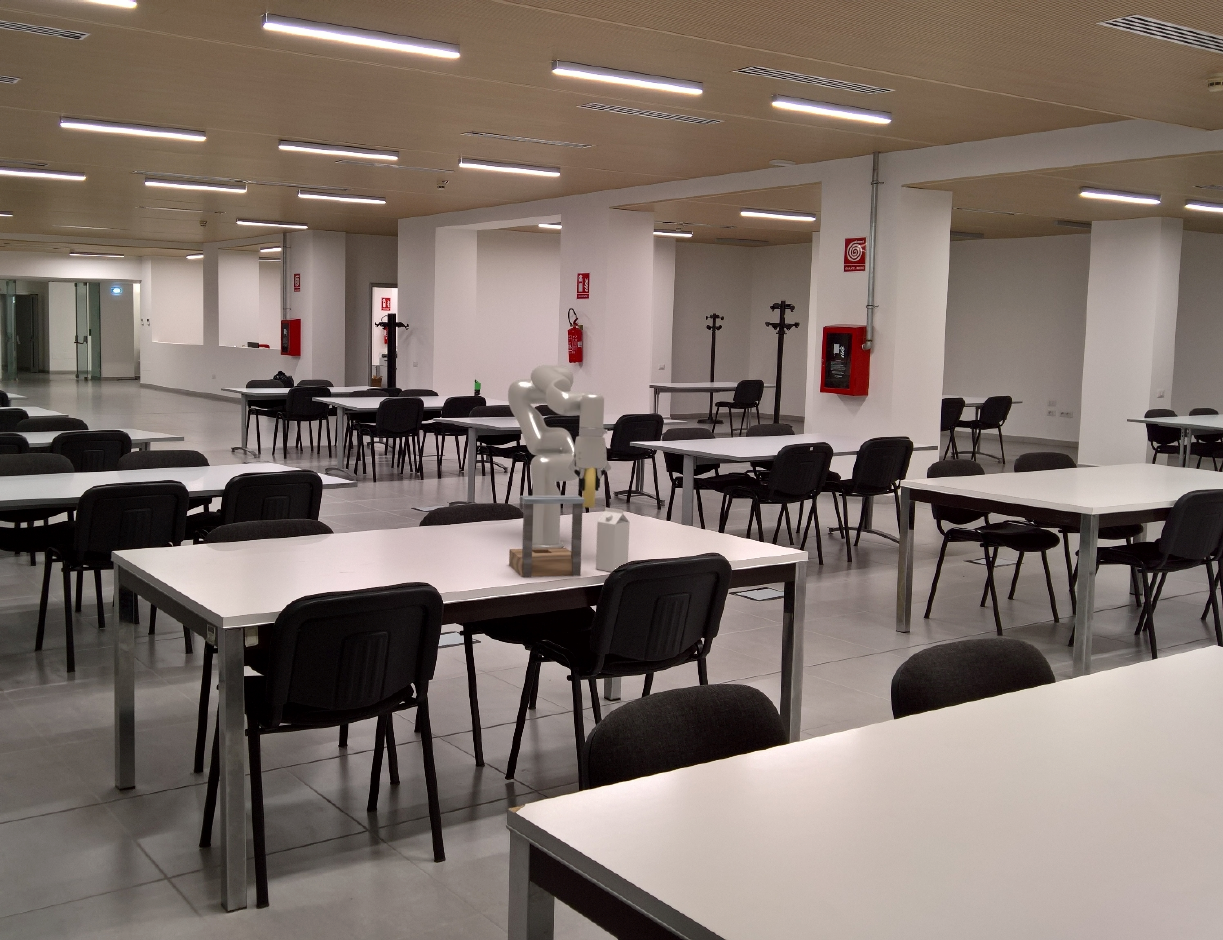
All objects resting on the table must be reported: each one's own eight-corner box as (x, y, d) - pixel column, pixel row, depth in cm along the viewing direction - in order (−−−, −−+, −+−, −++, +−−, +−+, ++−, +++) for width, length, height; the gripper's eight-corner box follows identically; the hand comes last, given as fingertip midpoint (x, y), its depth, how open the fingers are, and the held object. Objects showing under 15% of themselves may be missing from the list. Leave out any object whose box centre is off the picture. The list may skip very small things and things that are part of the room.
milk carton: (610, 566, 352) (612, 506, 350) (627, 569, 347) (630, 509, 345) (595, 569, 346) (597, 508, 344) (613, 572, 342) (615, 511, 340)
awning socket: (509, 564, 348) (511, 490, 346) (565, 563, 354) (567, 489, 351) (523, 577, 330) (525, 499, 327) (581, 576, 335) (584, 498, 333)
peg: (580, 505, 358) (582, 461, 357) (592, 505, 359) (594, 461, 358) (584, 507, 355) (585, 463, 353) (596, 507, 356) (597, 463, 354)
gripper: (612, 432, 360) (610, 488, 363) (562, 431, 355) (560, 488, 357) (619, 434, 353) (617, 491, 355) (568, 433, 348) (566, 492, 350)
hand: (589, 489), depth 356 cm, fingers closed on peg, 4 cm apart
